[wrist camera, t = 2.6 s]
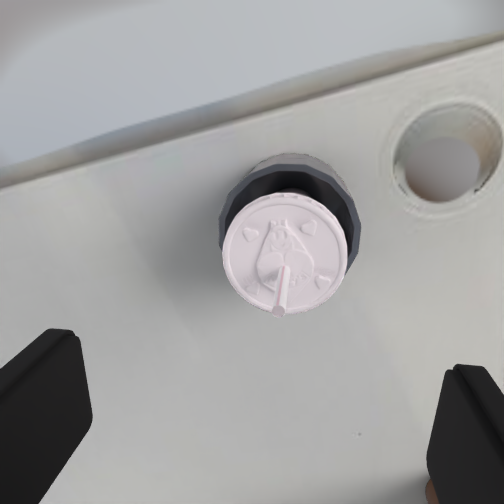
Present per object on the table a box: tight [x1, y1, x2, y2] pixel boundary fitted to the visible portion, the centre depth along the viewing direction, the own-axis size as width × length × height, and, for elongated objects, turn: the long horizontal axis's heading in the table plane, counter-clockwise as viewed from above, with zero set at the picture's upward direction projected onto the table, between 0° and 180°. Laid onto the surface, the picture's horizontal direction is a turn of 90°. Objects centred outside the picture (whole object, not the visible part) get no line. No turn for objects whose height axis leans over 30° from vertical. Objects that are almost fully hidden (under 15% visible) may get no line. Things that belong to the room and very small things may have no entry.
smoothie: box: [222, 188, 347, 317], centre depth 22 cm, size 6×6×14 cm
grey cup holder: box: [219, 153, 361, 276], centre depth 26 cm, size 8×8×6 cm
